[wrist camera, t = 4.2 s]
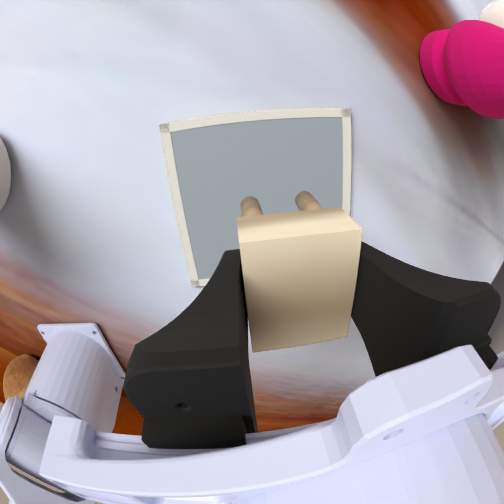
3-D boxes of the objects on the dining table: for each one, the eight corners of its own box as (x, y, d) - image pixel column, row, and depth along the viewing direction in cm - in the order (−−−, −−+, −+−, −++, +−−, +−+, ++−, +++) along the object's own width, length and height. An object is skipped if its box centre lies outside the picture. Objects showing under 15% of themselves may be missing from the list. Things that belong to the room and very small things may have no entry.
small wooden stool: (233, 192, 13) (239, 243, 9) (318, 185, 13) (362, 229, 9) (243, 282, 16) (252, 352, 11) (316, 273, 16) (346, 337, 11)
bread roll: (67, 362, 26) (47, 417, 19) (80, 415, 33) (70, 458, 26) (5, 334, 24) (-21, 382, 17) (29, 394, 30) (15, 433, 23)
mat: (343, 264, 22) (345, 267, 22) (192, 283, 22) (192, 287, 22) (347, 108, 16) (350, 108, 16) (160, 124, 16) (159, 124, 16)
